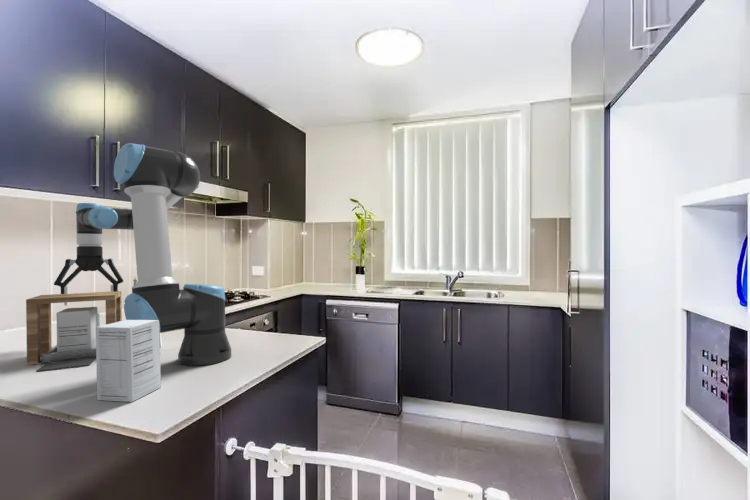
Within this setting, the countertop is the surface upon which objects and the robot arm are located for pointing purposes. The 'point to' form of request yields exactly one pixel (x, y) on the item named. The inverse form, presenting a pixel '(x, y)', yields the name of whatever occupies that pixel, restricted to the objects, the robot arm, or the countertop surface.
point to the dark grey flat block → (66, 364)
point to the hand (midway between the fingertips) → (90, 303)
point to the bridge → (41, 318)
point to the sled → (69, 353)
